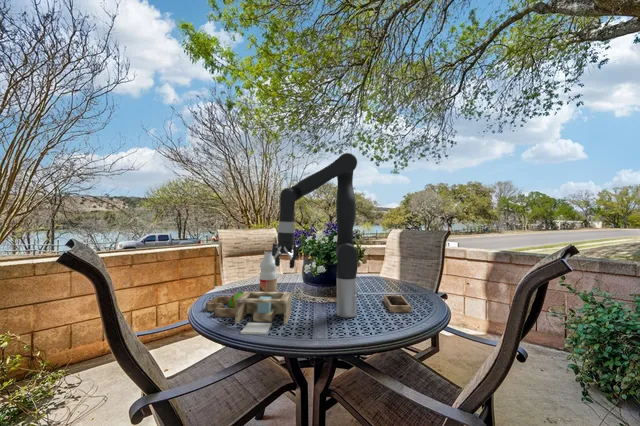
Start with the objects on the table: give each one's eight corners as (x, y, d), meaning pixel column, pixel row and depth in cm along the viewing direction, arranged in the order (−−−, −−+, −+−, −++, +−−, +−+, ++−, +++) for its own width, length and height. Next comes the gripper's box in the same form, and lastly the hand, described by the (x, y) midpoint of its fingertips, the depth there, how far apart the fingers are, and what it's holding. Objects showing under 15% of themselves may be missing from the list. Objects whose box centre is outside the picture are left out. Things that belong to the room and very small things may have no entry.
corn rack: (272, 299, 158) (272, 293, 158) (258, 317, 130) (258, 309, 130) (222, 299, 160) (222, 292, 160) (198, 316, 132) (198, 308, 132)
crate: (291, 313, 135) (291, 292, 136) (286, 324, 121) (286, 300, 122) (245, 312, 137) (245, 291, 137) (235, 323, 123) (235, 299, 123)
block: (271, 309, 131) (271, 296, 132) (268, 313, 126) (268, 299, 127) (260, 309, 132) (260, 296, 132) (257, 313, 127) (257, 299, 127)
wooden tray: (402, 301, 156) (402, 295, 156) (411, 312, 137) (411, 306, 137) (383, 300, 156) (383, 295, 156) (390, 312, 137) (390, 305, 137)
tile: (271, 325, 121) (271, 323, 121) (265, 334, 111) (265, 332, 111) (248, 324, 121) (248, 322, 121) (240, 334, 111) (240, 332, 111)
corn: (227, 297, 135) (235, 287, 155) (225, 313, 135) (234, 301, 155) (243, 298, 136) (249, 288, 155) (241, 314, 135) (248, 302, 155)
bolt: (391, 305, 154) (403, 314, 139) (383, 301, 153) (394, 309, 138) (396, 296, 154) (408, 303, 139) (388, 291, 154) (400, 298, 139)
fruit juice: (275, 302, 152) (275, 250, 153) (257, 302, 153) (257, 250, 153) (278, 298, 162) (278, 248, 162) (262, 297, 162) (262, 248, 163)
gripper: (303, 232, 131) (301, 268, 131) (280, 230, 139) (278, 264, 139) (293, 232, 125) (291, 269, 125) (269, 230, 133) (267, 265, 133)
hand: (284, 267), depth 132 cm, fingers open, 8 cm apart
